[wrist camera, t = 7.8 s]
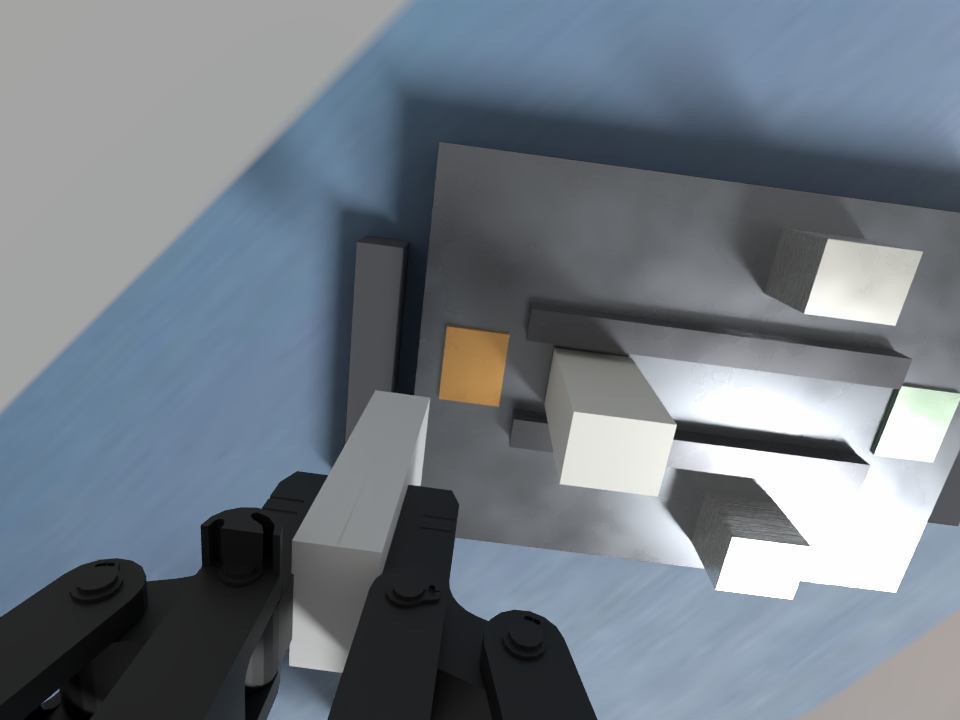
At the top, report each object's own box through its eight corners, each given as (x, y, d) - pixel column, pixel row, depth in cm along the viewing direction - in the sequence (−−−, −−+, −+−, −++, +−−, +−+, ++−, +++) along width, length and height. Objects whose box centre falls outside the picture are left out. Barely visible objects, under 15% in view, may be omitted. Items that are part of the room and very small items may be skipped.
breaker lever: (544, 404, 23) (559, 484, 18) (554, 347, 23) (573, 411, 17) (618, 414, 23) (658, 496, 18) (631, 357, 23) (676, 424, 17)
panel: (410, 493, 28) (388, 577, 23) (446, 143, 23) (429, 139, 17) (856, 549, 29) (944, 646, 23) (991, 217, 23) (1148, 237, 18)
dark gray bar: (350, 485, 28) (341, 506, 27) (366, 235, 24) (356, 241, 23) (387, 490, 28) (380, 511, 27) (409, 241, 24) (403, 248, 23)
